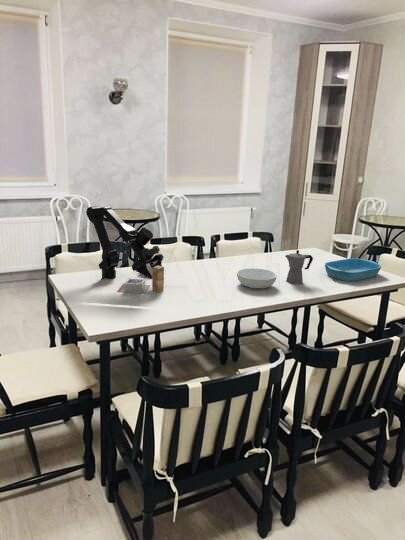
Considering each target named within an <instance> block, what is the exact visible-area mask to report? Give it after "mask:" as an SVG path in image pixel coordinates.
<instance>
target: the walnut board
mask: <svg viewBox="0 0 405 540" xmlns="http://www.w3.org/2000/svg"><path fill="white" fill-rule="evenodd" d="M150 287H151V285H148V284H145V289H144V291H143V293H142V294H143V295H146V294H147V292H148V291H149V289H150ZM116 293H125V292H124V283H122V284H121V285H120V286H119V288H118V289H117V290H116ZM138 294H139V295H140V293H138Z"/></svg>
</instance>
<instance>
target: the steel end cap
mask: <svg viewBox="0 0 405 540" xmlns="http://www.w3.org/2000/svg"><path fill="white" fill-rule="evenodd" d="M123 284H124V292H125V293H126V294H139V293H140V294H142V293H143V291H144V289H145V285H146V279H144V278H127V280H126V281H125V282H124V283H123ZM124 292H123V293H124ZM140 294H139V295H140Z"/></svg>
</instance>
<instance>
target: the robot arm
mask: <svg viewBox="0 0 405 540" xmlns="http://www.w3.org/2000/svg"><path fill="white" fill-rule="evenodd" d="M85 213H86V217H87V219H88V220H89V222H90V223H91V224H92V225H94V229H95V231H96V236H97V238H98V241H99V244H100V248H101V249H102V251H101V252H102V254H101V259H102V260H101V261H100V263H99V264H98V268H99V269H100V270H101V279H100V280H101V281H102V280H103V279H106V280H110V279H116V277H117V270H116V268H117V267H118V265H119V263H120V255H119V253H118V250H117V249H114V248H113V246H112V243H111V241H110V238H109V235H108V232H107V228H106V227H105V224H104V220H105V219H104V218H106V219H107V220H108V221H109V222H110V224H112V225H113V226H114V228H116V229H117V231H118V234H119V236H120V238H121V240H123V242H128V243H127V246H126V249H129V250H130V249H131V250H132V251H133V252H134V254H135V256H134V258H136V259H137V260H136V261H135V262H133V263H132V265H131V269H132V271H133V272H136V273H140V275H143V276H145V277H146V278H148V279H150V280H152V276H151V274H150V273H149V271H148V269H147V267H146V264H149V263H151V264H153V267H155V266H158V265H159V266H163V265H162V262H163V260H164V256H163V254H162V253H160V251H161V250H160V249H161V248H160V247H159V246H158V245H153V246H152V248H148V247H147V248H146V247H145V246H147V244H148V243H149V242H150V241H151V240H152V239H153V238H154V234H153V232H152V231H151V230H149V229H147V228H146V227H142V228H141V229H140V230H139V231H138V230H137V229H136V228H134V227H133V226H131V225H129V224H126V223H125V221H124V220H123V219H121V218H120V216H119V215H118V214H117V213H116V212H115V211H114V210H113V208H112V207H111V206H109V205H108V206H101V205H100V206H99V205H96V206H95V205H94V206H89V207H87V209H86V210H85Z"/></svg>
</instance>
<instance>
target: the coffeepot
mask: <svg viewBox="0 0 405 540" xmlns="http://www.w3.org/2000/svg"><path fill="white" fill-rule="evenodd" d="M295 252H296V253H294V252H293V253H289V254H286V255H284V257H285V258H286V259H287V261H288V267H289V269H288V272H287V277H286V279H285V280H286V282H287V283H288V284H292V285H302V284H303V282H304V280H303V278H304V277H303V268H304V270H309V268H310V267H311V264H312V262H313V260H314V257H313V256H312V255H311V254H301V253H300V250H298V249H297V250H295ZM306 259H309V260H308V262H307V265H306V267H304V263H305V260H306Z"/></svg>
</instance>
